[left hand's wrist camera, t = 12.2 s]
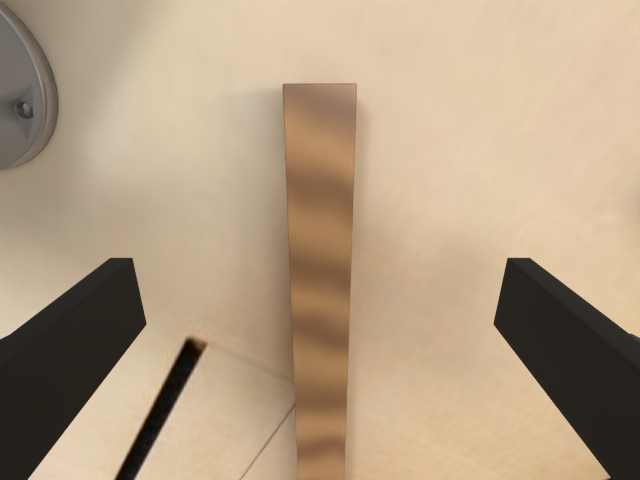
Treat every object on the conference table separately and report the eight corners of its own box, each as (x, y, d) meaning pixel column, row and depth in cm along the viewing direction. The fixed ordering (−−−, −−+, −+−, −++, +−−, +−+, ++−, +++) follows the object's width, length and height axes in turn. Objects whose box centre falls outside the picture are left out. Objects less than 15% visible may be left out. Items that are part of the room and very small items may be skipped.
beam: (291, 87, 31) (282, 83, 24) (348, 86, 31) (356, 83, 24) (307, 601, 62) (305, 671, 55) (335, 601, 62) (338, 670, 55)
